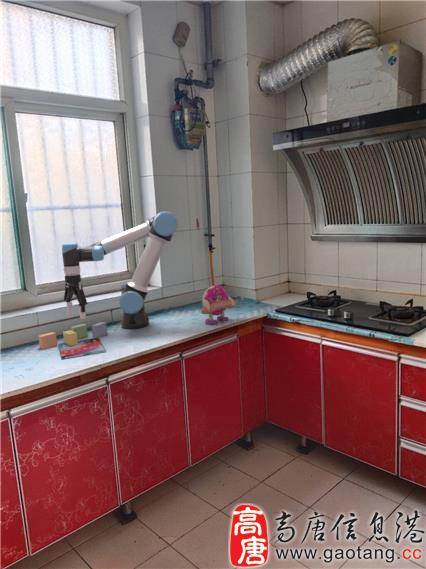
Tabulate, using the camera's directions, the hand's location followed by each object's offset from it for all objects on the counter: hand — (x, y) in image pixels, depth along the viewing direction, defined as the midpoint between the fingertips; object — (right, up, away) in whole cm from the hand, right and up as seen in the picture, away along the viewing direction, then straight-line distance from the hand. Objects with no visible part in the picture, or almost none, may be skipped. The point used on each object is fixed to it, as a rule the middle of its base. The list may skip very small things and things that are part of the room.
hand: (76, 316), depth 219 cm
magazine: (+8, -14, -17) cm, 23 cm away
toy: (+71, -4, +15) cm, 73 cm away
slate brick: (+11, -10, +3) cm, 15 cm away
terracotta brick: (-10, -13, -11) cm, 20 cm away
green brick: (+1, -11, +2) cm, 11 cm away
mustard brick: (0, -13, -10) cm, 16 cm away
